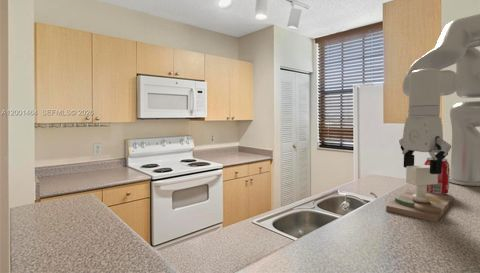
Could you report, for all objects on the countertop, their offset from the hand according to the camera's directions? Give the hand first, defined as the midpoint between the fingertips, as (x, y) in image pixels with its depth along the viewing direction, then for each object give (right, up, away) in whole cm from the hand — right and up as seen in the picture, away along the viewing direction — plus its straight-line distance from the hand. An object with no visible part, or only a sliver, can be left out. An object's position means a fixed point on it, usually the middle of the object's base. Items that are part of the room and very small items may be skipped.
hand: (421, 170), depth 79 cm
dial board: (+1, -11, +1) cm, 11 cm away
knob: (+1, -9, -1) cm, 9 cm away
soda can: (+14, -10, +13) cm, 22 cm away
